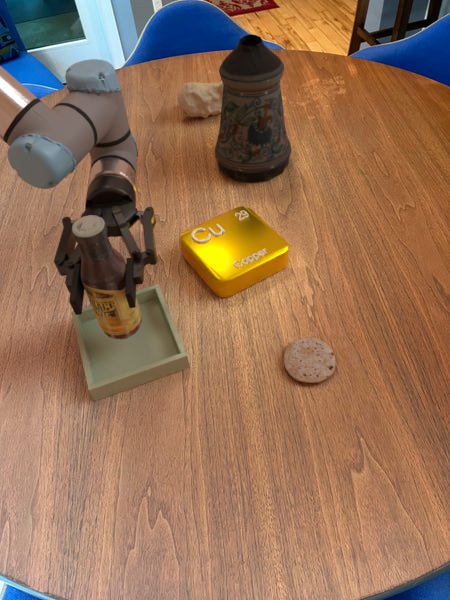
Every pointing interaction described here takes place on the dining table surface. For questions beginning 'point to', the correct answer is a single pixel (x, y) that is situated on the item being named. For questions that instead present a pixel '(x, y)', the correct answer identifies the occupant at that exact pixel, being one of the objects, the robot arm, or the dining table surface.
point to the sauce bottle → (105, 279)
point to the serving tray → (130, 348)
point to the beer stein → (252, 114)
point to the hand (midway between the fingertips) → (102, 304)
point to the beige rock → (201, 99)
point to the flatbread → (309, 360)
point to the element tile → (234, 251)
